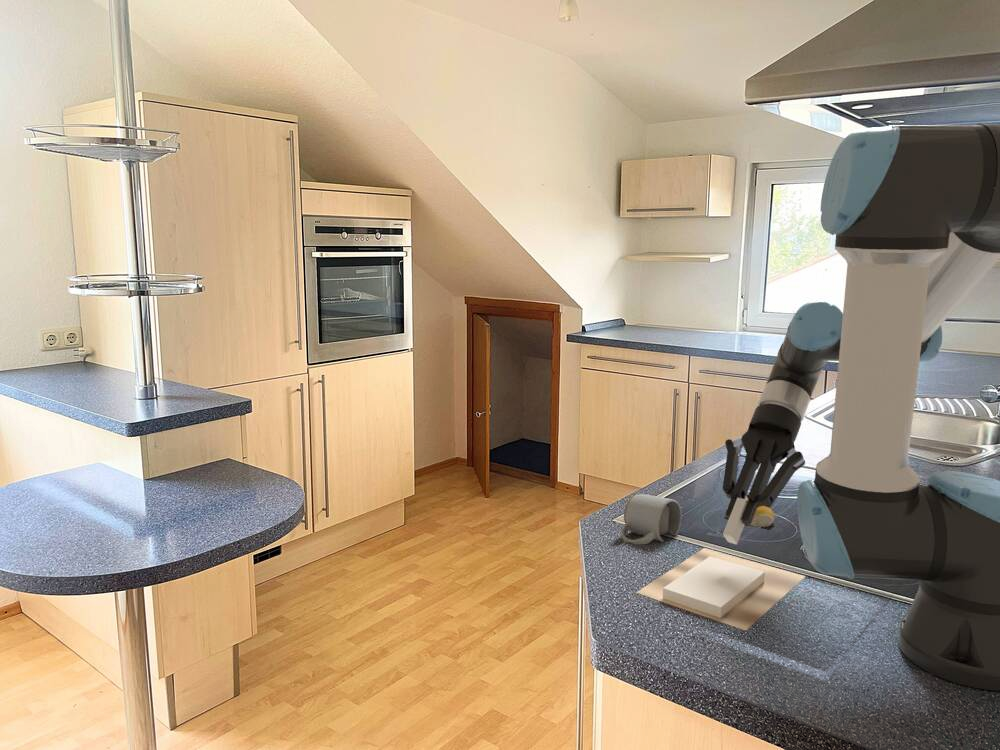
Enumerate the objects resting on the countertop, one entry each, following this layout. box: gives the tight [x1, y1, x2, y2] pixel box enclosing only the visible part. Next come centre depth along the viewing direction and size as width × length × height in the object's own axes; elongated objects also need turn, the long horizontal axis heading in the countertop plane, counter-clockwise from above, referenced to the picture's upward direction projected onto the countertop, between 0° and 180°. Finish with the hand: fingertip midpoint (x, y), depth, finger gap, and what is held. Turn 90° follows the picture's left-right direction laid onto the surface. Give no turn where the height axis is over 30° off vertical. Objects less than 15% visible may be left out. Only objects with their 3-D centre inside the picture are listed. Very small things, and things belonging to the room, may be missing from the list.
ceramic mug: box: [620, 493, 682, 545], centre depth 134 cm, size 11×8×8 cm
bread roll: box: [725, 497, 776, 528], centre depth 144 cm, size 8×9×4 cm
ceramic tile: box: [663, 556, 765, 618], centre depth 113 cm, size 2×9×15 cm
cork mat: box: [636, 547, 806, 631], centre depth 115 cm, size 22×17×1 cm
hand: (730, 539), depth 116 cm, fingers closed
